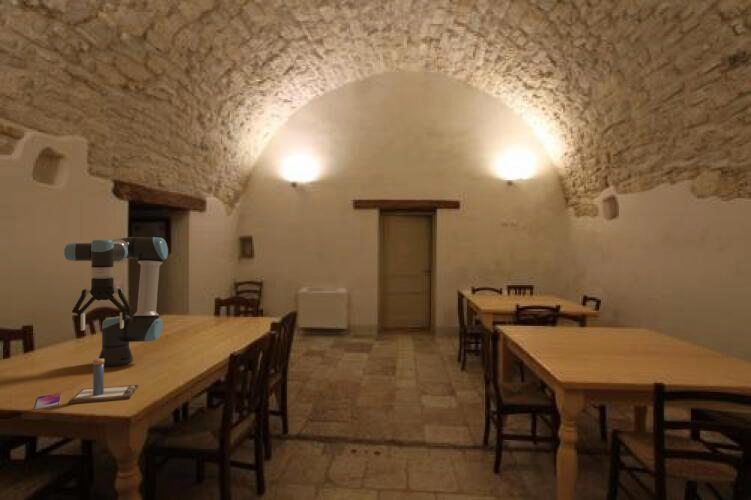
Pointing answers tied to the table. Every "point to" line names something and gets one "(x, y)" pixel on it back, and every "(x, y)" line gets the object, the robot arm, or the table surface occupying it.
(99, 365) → the blue cylinder
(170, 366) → the table surface
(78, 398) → the clipboard
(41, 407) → the smartphone
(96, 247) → the robot arm
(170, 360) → the table surface
